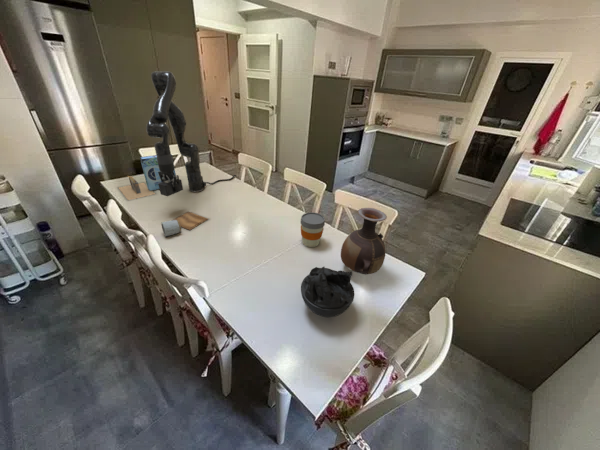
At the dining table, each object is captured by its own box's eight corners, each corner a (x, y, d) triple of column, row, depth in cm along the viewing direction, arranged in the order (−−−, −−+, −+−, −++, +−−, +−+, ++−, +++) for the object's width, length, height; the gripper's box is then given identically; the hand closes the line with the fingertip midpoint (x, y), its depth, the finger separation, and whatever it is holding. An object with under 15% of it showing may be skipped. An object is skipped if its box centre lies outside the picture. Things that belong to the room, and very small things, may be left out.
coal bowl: (289, 312, 96) (291, 275, 86) (314, 281, 111) (318, 247, 101) (337, 338, 88) (345, 301, 78) (357, 301, 102) (366, 266, 93)
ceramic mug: (182, 234, 135) (180, 221, 131) (166, 239, 131) (163, 226, 127) (177, 225, 142) (174, 213, 138) (161, 230, 138) (157, 217, 134)
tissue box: (176, 187, 152) (174, 176, 148) (183, 190, 150) (180, 178, 146) (160, 194, 143) (157, 182, 140) (167, 196, 142) (164, 184, 138)
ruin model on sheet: (118, 187, 179) (113, 174, 173) (143, 182, 189) (140, 169, 183) (128, 200, 164) (123, 186, 159) (155, 193, 174) (151, 180, 169)
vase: (370, 292, 107) (387, 234, 91) (330, 274, 115) (339, 217, 100) (385, 264, 124) (402, 210, 108) (349, 249, 132) (359, 198, 116)
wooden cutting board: (188, 212, 155) (188, 211, 155) (208, 219, 149) (208, 218, 149) (169, 222, 144) (168, 221, 144) (189, 230, 139) (189, 229, 138)
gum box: (175, 183, 191) (169, 152, 179) (178, 185, 188) (172, 154, 176) (147, 188, 179) (139, 156, 167) (149, 191, 176) (141, 158, 164)
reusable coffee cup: (310, 232, 144) (312, 209, 136) (326, 242, 136) (330, 219, 128) (294, 241, 136) (295, 217, 128) (311, 252, 128) (313, 227, 121)
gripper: (180, 162, 138) (186, 191, 147) (162, 157, 143) (168, 185, 152) (168, 166, 132) (175, 195, 141) (150, 161, 137) (157, 189, 146)
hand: (171, 190), depth 146 cm, fingers closed on tissue box, 5 cm apart
